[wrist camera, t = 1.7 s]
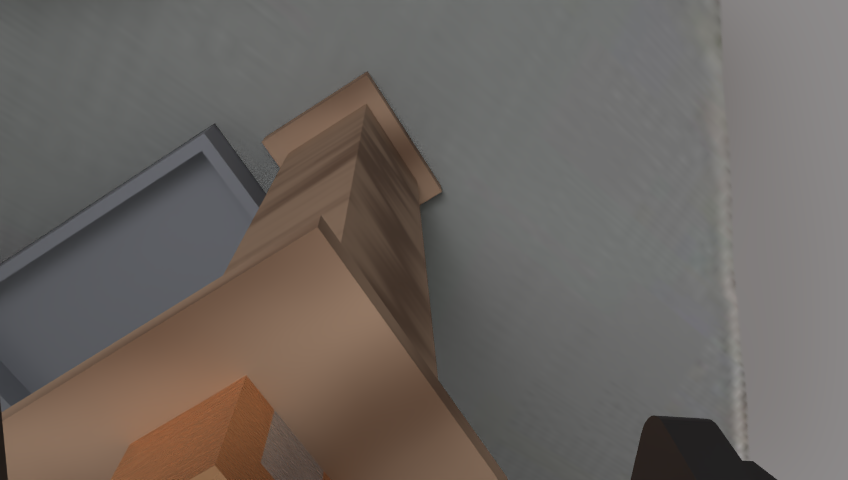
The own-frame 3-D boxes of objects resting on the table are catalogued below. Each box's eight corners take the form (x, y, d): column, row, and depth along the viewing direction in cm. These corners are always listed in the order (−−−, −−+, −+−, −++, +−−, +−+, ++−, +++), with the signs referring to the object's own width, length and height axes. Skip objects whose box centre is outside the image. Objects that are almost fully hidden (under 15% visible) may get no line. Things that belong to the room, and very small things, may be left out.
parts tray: (-60, 302, 54) (-84, 321, 52) (214, 123, 51) (204, 133, 48) (74, 445, 59) (58, 470, 56) (335, 289, 55) (332, 307, 52)
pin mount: (211, 162, 52) (-41, 447, 22) (363, 64, 50) (317, 227, 20) (298, 279, 55) (183, 672, 25) (444, 191, 53) (511, 498, 23)
